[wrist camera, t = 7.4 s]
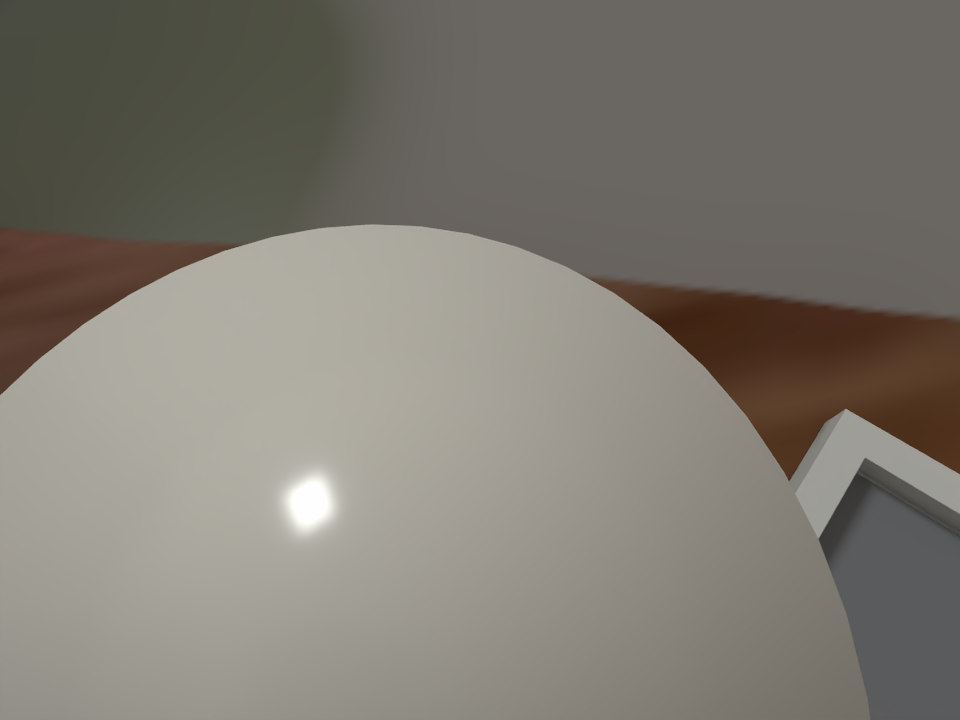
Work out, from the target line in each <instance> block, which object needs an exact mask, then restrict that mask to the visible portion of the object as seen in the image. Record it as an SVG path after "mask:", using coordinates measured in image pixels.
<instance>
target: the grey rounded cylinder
mask: <svg viewBox="0 0 960 720" xmlns="http://www.w3.org/2000/svg"><path fill="white" fill-rule="evenodd" d="M0 720H870V713H869V705H868V698H867V694H866V690H865V686H864V682H863V678H862V674H861V670H860V666H859V662H858V658H857V654H856V650H855V646H854V642H853V638H852V634H851V630H850V626H849V622H848V618H847V614H846V611H845V609H844V606H843V603H842V601H841V598H840V595H839V593H838V590H837V587H836V585H835V582H834V579H833V577H832V574H831V571H830V569H829V566H828V563H827V561H826V558H825V555H824V553H823V550H822V547H821V545H820V542H819V539H818V537H817V535H816V533H815V531H814V529H813V527H812V526H811V524H810V522H809V520H808V518H807V516H806V514H805V512H804V510H803V508H802V506H801V504H800V502H799V500H798V498H797V496H796V494H795V493H794V491H793V489H792V487H791V485H790V483H789V481H788V479H787V477H786V475H785V473H784V471H783V470H782V469H781V467H780V466H779V464H778V463H777V461H776V460H775V458H774V457H773V455H772V454H771V452H770V451H769V449H768V448H767V446H766V445H765V443H764V442H763V440H762V439H761V437H760V436H759V434H758V433H757V431H756V430H755V428H754V427H753V425H752V424H751V422H750V421H749V419H748V418H747V416H746V415H745V414H744V413H743V412H742V410H741V409H740V408H739V407H738V406H737V405H736V403H735V402H734V401H733V400H732V399H731V398H730V396H729V395H728V394H727V393H726V392H725V391H724V389H723V388H722V387H721V386H720V385H719V384H718V382H717V381H716V380H715V379H714V378H713V377H712V375H711V374H710V373H709V372H708V371H707V370H706V369H705V367H704V366H703V365H702V364H700V363H699V362H698V361H697V360H696V359H695V358H694V357H693V356H692V355H691V354H690V353H688V352H687V351H686V350H685V349H684V348H683V347H682V346H681V345H680V344H679V343H678V342H676V341H675V340H674V339H673V338H672V337H671V336H670V335H669V334H668V333H667V332H666V331H664V330H663V329H662V328H661V327H660V326H659V325H657V324H656V323H655V322H653V321H652V320H650V319H649V318H648V317H646V316H645V315H644V314H642V313H641V312H639V311H638V310H637V309H635V308H634V307H632V306H631V305H630V304H628V303H627V302H625V301H624V300H623V299H621V298H620V297H618V296H617V295H616V294H614V293H613V292H611V291H609V290H607V289H605V288H604V287H602V286H600V285H598V284H596V283H595V282H593V281H591V280H589V279H587V278H586V277H584V276H582V275H580V274H578V273H576V272H575V271H572V270H571V269H569V268H567V267H565V266H563V265H560V264H558V263H555V262H553V261H551V260H548V259H545V258H543V257H541V256H538V255H536V254H533V253H531V252H528V251H526V250H523V249H521V248H518V247H515V246H511V245H507V244H504V243H500V242H497V241H493V240H489V239H485V238H482V237H478V236H475V235H471V234H466V233H460V232H453V231H447V230H439V229H433V228H426V227H420V226H395V225H359V226H344V227H330V228H320V229H314V230H309V231H303V232H298V233H293V234H287V235H281V236H275V237H271V238H268V239H264V240H261V241H257V242H254V243H250V244H247V245H244V246H240V247H237V248H233V249H230V250H226V251H223V252H221V253H218V254H216V255H213V256H211V257H208V258H206V259H203V260H201V261H198V262H196V263H194V264H191V265H189V266H186V267H184V268H181V269H179V270H176V271H174V272H172V273H171V274H169V275H167V276H165V277H163V278H161V279H159V280H157V281H155V282H153V283H151V284H149V285H147V286H145V287H144V288H142V289H140V290H138V291H136V292H134V293H132V294H130V295H128V296H127V297H125V298H124V299H122V300H121V301H119V302H118V303H116V304H114V305H113V306H111V307H110V308H108V309H107V310H105V311H104V312H102V313H101V314H99V315H97V316H96V317H94V318H93V319H91V320H90V321H88V322H87V323H85V324H83V325H82V326H81V327H80V328H78V329H77V330H76V331H75V332H73V333H72V334H71V335H69V336H68V337H67V338H66V339H64V340H63V341H62V342H60V343H59V344H58V345H57V346H55V347H54V348H53V349H52V350H50V351H49V352H48V353H46V354H45V355H44V356H43V357H41V358H40V359H39V360H38V361H37V362H35V363H34V364H33V365H32V366H31V367H30V368H29V369H28V370H27V371H26V372H25V373H24V374H23V375H22V376H21V377H19V378H18V379H17V380H16V381H15V382H14V383H13V384H12V385H11V386H10V387H9V388H8V389H7V390H6V391H5V392H3V393H2V394H1V395H0Z"/></svg>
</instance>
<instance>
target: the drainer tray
mask: <svg viewBox="0 0 960 720" xmlns="http://www.w3.org/2000/svg"><path fill="white" fill-rule="evenodd" d="M789 483H790V485H791V487H792V489H793V491H794V493H795V494H796V496H797V498H798V500H799V502H800V504H801V506H802V508H803V510H804V512H805V514H806V516H807V518H808V520H809V522H810V524H811V526H812V527H813V529H814V531H815V533H816V535H817V537H818V539H819V542H820V545H821V547H822V550H823V553H824V555H825V558H826V561H827V563H828V566H829V569H830V571H831V574H832V577H833V579H834V582H835V585H836V587H837V590H838V593H839V595H840V598H841V601H842V603H843V606H844V609H845V611H846V614H847V618H848V622H849V626H850V630H851V634H852V638H853V642H854V646H855V650H856V654H857V658H858V662H859V666H860V670H861V674H862V678H863V682H864V686H865V690H866V694H867V698H868V705H869V713H870V720H960V474H958V473H956V472H954V471H953V470H951V469H949V468H947V467H946V466H944V465H942V464H940V463H939V462H937V461H935V460H934V459H932V458H930V457H928V456H927V455H925V454H923V453H921V452H920V451H918V450H916V449H914V448H913V447H911V446H909V445H907V444H906V443H904V442H902V441H901V440H899V439H897V438H895V437H894V436H892V435H890V434H888V433H887V432H885V431H883V430H881V429H880V428H878V427H876V426H874V425H873V424H871V423H869V422H868V421H866V420H864V419H862V418H861V417H859V416H857V415H855V414H854V413H852V412H850V411H848V410H847V409H845V410H844V411H842V412H841V413H839V414H838V415H836V416H835V417H833V418H832V419H830V420H829V421H827V422H826V423H825V424H824V425H823V427H822V429H821V430H820V432H819V433H818V435H817V437H816V438H815V440H814V442H813V443H812V445H811V447H810V448H809V450H808V452H807V453H806V455H805V457H804V458H803V460H802V462H801V463H800V465H799V467H798V468H797V470H796V471H795V473H794V475H793V476H792V478H791V480H790V481H789Z"/></svg>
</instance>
